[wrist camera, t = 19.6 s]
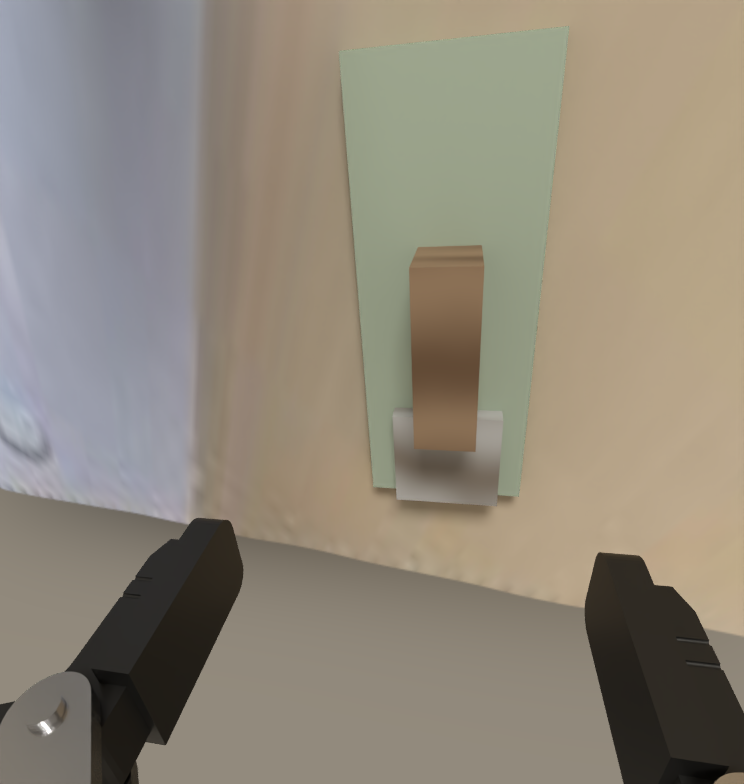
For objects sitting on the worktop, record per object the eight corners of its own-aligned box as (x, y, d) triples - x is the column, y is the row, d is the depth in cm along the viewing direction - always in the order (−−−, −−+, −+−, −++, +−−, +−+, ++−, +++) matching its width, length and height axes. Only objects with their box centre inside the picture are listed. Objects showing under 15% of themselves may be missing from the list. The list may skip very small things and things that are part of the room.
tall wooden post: (387, 248, 23) (372, 268, 20) (515, 244, 22) (523, 265, 18) (398, 488, 30) (389, 535, 27) (495, 494, 29) (499, 544, 26)
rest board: (376, 475, 31) (373, 487, 30) (345, 54, 21) (338, 51, 20) (517, 483, 30) (518, 496, 29) (563, 31, 19) (569, 26, 18)
